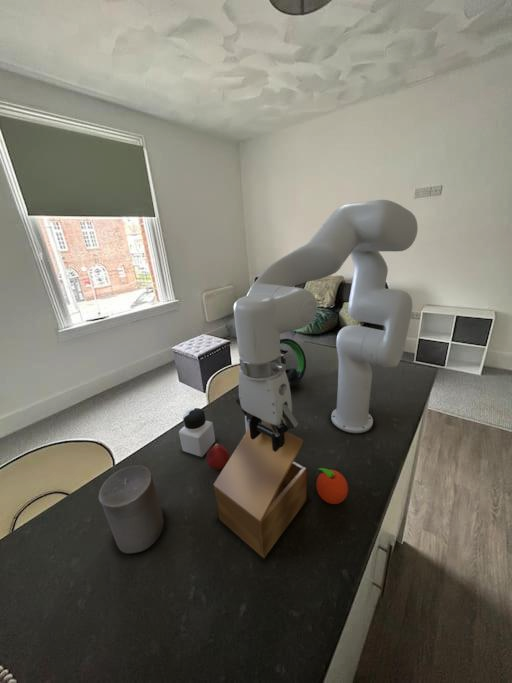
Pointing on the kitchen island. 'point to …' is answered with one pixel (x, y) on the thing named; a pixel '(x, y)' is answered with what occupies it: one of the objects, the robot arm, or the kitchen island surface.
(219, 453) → the onion
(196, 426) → the medicine bottle
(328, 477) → the clementine
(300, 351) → the headset
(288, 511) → the chest
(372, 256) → the robot arm
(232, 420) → the kitchen island surface
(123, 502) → the pillar candle
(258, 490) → the lid
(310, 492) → the kitchen island surface
